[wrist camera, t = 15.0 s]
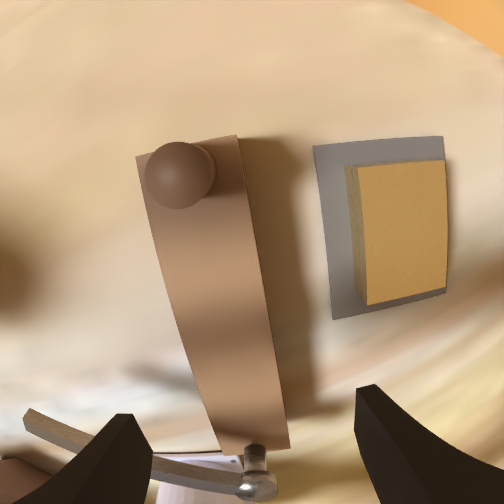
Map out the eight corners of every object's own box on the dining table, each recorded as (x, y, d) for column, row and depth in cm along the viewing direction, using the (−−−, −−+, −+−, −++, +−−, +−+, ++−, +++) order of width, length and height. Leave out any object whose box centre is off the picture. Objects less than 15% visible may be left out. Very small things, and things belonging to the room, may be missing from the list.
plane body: (286, 418, 21) (294, 478, 16) (225, 426, 22) (222, 485, 16) (237, 138, 16) (234, 129, 11) (153, 156, 16) (112, 157, 11)
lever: (278, 441, 18) (283, 485, 14) (267, 462, 18) (270, 503, 15) (45, 377, 16) (20, 411, 13) (49, 402, 17) (27, 436, 13)
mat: (443, 291, 19) (445, 292, 18) (332, 317, 19) (333, 319, 19) (439, 136, 16) (441, 136, 16) (312, 146, 16) (313, 146, 16)
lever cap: (427, 273, 18) (445, 286, 16) (354, 288, 18) (367, 305, 16) (423, 158, 16) (444, 160, 14) (344, 165, 16) (357, 167, 14)
